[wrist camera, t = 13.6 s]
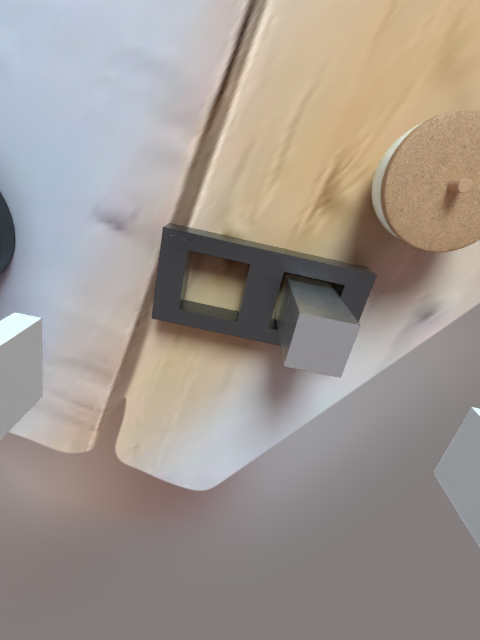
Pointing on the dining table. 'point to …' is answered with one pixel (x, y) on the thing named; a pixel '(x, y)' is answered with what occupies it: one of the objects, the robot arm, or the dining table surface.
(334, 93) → the dining table surface
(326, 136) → the dining table surface
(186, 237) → the dark grey flat frame
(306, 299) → the solid steel block
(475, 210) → the lidded jar
